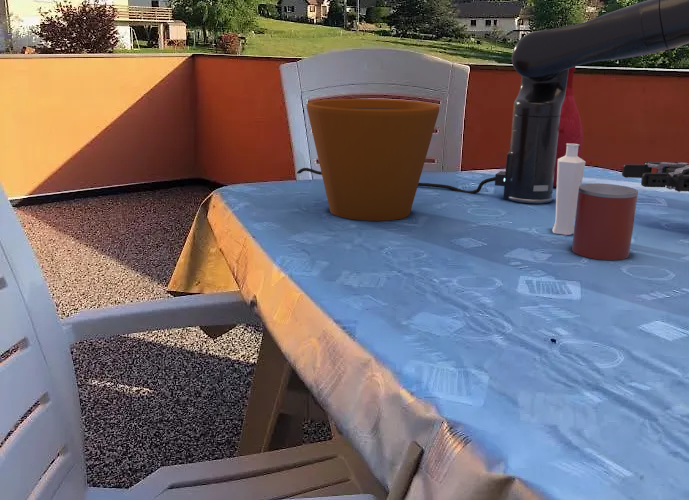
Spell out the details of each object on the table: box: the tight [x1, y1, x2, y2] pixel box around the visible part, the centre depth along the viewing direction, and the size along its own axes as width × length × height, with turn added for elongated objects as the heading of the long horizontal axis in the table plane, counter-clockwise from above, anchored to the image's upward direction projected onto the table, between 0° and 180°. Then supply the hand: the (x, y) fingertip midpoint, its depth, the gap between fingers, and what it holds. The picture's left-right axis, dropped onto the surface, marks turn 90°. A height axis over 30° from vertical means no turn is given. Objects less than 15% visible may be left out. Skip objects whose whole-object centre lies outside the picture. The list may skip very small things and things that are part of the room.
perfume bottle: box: [552, 143, 586, 236], centre depth 119 cm, size 5×4×15 cm
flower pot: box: [306, 98, 440, 222], centre depth 130 cm, size 24×24×20 cm
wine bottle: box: [553, 66, 584, 188], centre depth 159 cm, size 10×10×30 cm
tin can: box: [571, 183, 639, 261], centre depth 108 cm, size 8×8×10 cm
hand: (632, 175), depth 118 cm, fingers open, 8 cm apart
